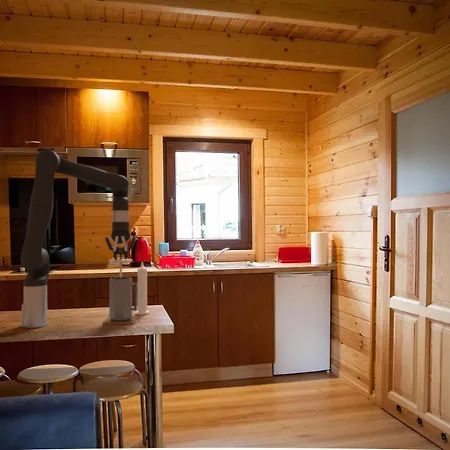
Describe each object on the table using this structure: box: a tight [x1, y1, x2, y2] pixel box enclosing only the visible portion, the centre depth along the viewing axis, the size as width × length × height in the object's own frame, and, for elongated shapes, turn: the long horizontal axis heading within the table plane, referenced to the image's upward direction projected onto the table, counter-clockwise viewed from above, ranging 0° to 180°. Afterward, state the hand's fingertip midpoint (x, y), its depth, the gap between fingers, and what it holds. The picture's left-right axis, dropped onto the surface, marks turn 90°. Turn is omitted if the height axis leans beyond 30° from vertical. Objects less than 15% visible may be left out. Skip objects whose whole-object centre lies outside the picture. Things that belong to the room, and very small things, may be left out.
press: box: [102, 276, 139, 326], centre depth 194 cm, size 14×13×19 cm
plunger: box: [108, 246, 133, 279], centre depth 194 cm, size 10×10×24 cm
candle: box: [134, 261, 151, 316], centre depth 212 cm, size 7×7×25 cm
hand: (120, 259), depth 194 cm, fingers closed on plunger, 3 cm apart
